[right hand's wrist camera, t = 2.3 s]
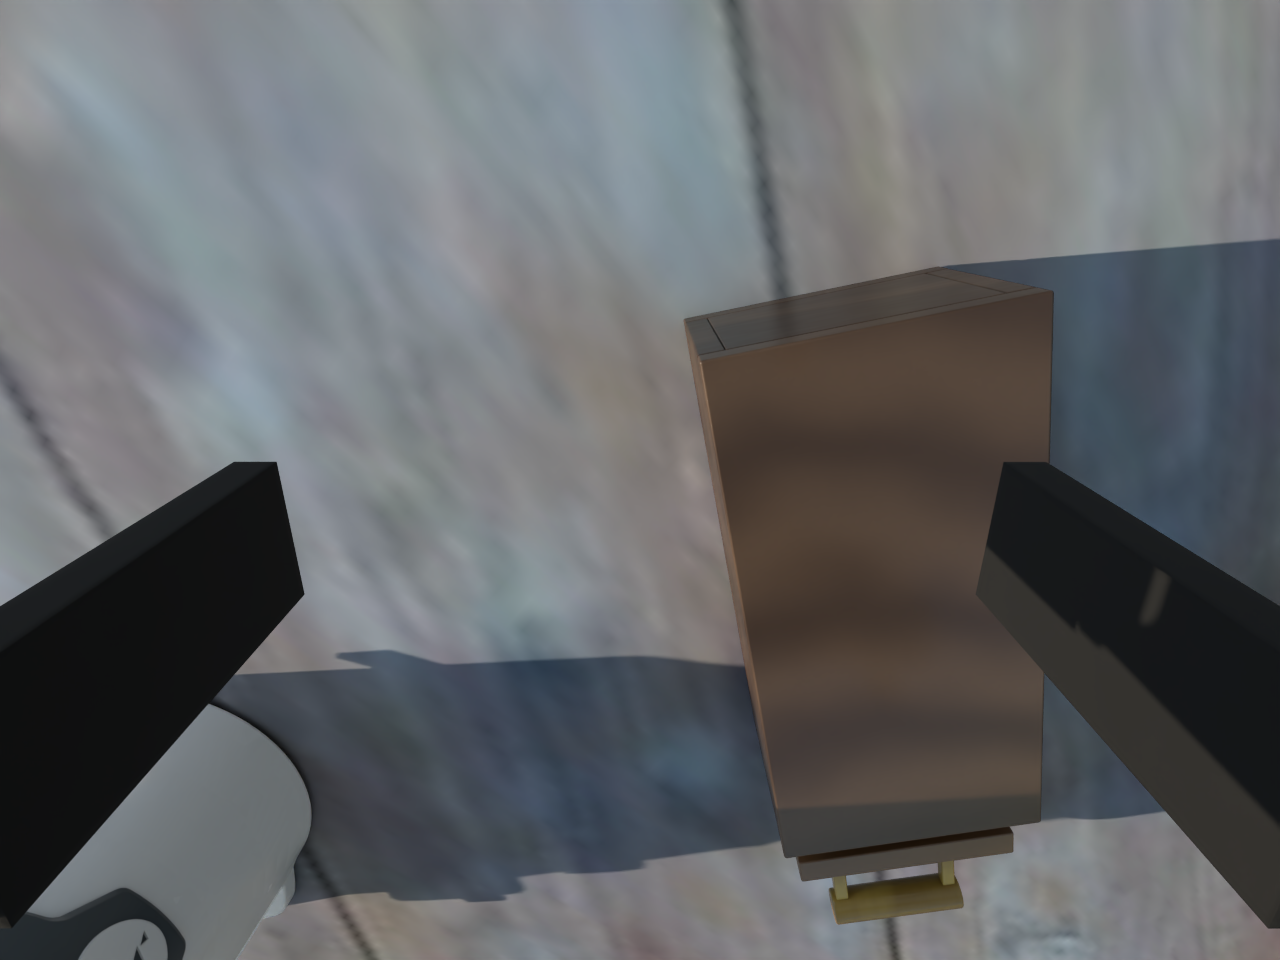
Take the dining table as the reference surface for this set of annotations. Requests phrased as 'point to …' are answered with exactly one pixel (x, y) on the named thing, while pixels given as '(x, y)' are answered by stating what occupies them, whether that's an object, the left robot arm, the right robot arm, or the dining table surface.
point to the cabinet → (879, 547)
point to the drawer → (901, 892)
